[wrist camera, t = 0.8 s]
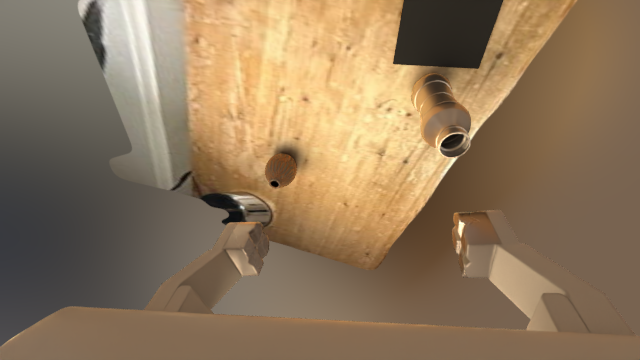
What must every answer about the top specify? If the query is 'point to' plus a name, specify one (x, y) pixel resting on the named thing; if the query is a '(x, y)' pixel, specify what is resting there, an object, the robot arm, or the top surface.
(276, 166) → the vase
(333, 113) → the top surface
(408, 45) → the mat
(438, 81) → the plastic bottle
